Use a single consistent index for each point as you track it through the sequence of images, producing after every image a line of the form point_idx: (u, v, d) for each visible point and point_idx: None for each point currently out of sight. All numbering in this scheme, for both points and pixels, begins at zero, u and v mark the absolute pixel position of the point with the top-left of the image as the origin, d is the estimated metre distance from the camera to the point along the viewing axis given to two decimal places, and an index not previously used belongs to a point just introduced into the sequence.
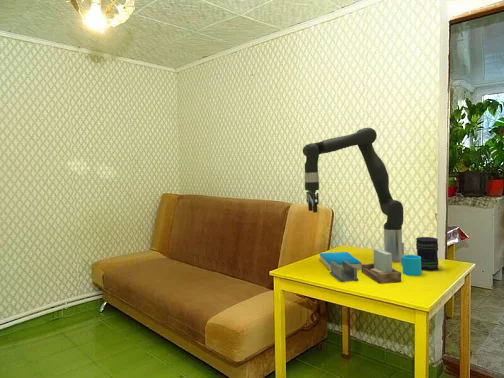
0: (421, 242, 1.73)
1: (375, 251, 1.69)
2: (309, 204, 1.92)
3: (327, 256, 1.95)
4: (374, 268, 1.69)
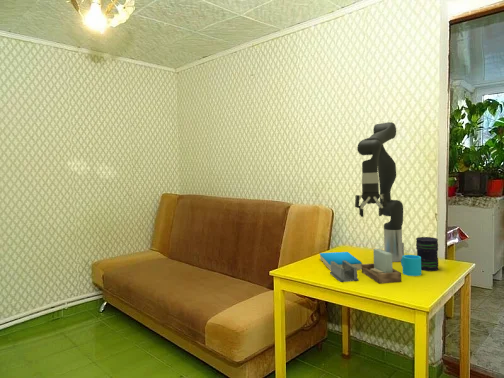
0: (421, 242, 1.73)
1: (375, 251, 1.69)
2: (362, 209, 1.67)
3: (327, 256, 1.95)
4: (373, 268, 1.69)
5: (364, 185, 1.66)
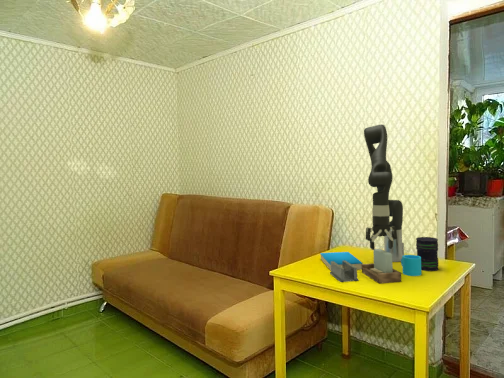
0: (421, 242, 1.73)
1: (375, 251, 1.69)
2: None
3: (328, 256, 1.95)
4: (373, 268, 1.69)
5: (376, 218, 1.63)
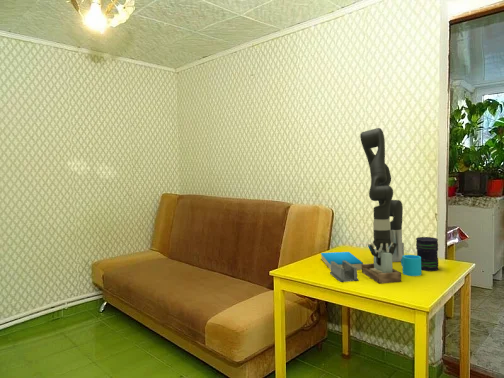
0: (421, 242, 1.73)
1: (375, 251, 1.69)
2: None
3: (328, 256, 1.95)
4: (373, 268, 1.69)
5: (377, 232, 1.63)
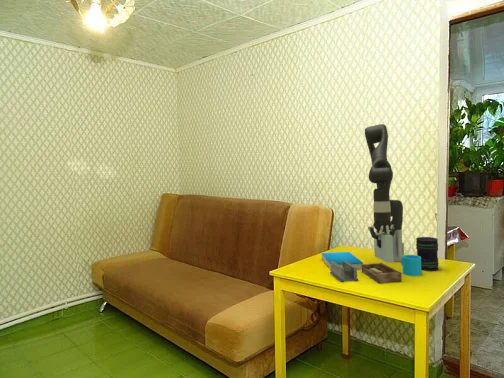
0: (421, 242, 1.73)
1: None
2: None
3: (329, 256, 1.95)
4: (373, 268, 1.69)
5: (377, 214, 1.62)
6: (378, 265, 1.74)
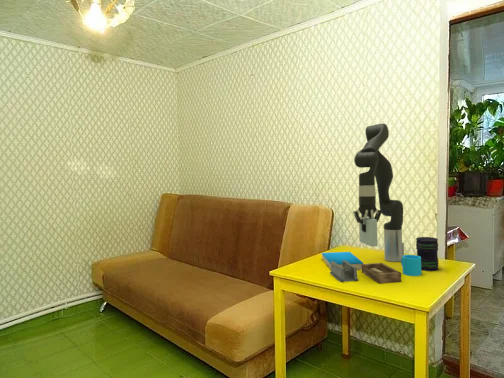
0: (421, 242, 1.73)
1: None
2: None
3: (329, 256, 1.95)
4: (374, 268, 1.69)
5: (362, 198, 1.63)
6: (378, 265, 1.74)
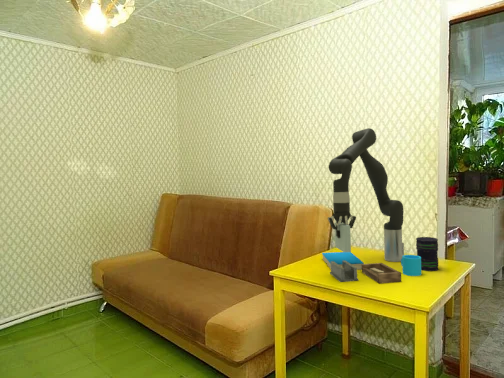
0: (421, 242, 1.73)
1: None
2: None
3: (330, 256, 1.95)
4: (373, 268, 1.69)
5: (336, 204, 1.64)
6: (378, 265, 1.74)
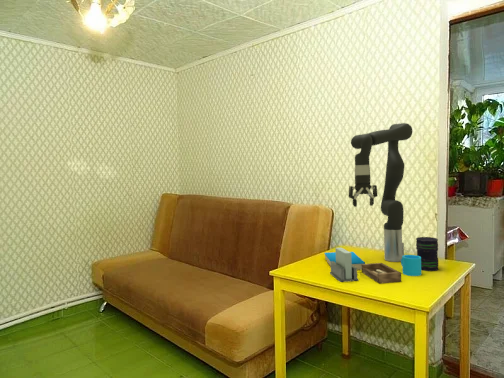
0: (421, 242, 1.73)
1: (337, 250, 1.71)
2: None
3: (332, 256, 1.96)
4: None
5: (357, 177, 1.76)
6: (378, 265, 1.74)
